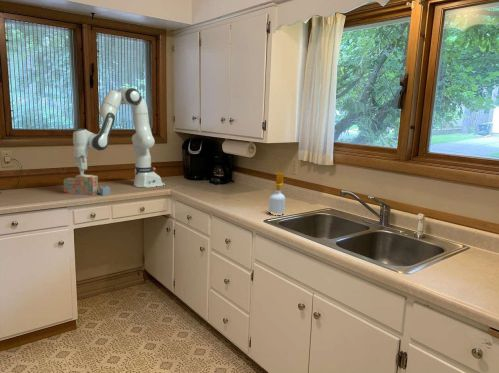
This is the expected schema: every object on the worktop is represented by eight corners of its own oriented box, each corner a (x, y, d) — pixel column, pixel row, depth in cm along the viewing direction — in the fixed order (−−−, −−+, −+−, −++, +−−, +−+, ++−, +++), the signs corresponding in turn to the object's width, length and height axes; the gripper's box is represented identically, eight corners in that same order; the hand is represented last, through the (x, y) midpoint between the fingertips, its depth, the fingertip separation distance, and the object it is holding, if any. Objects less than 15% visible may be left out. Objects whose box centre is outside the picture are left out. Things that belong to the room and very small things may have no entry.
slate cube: (106, 193, 260) (106, 185, 259) (110, 194, 257) (109, 186, 256) (99, 194, 256) (99, 186, 255) (102, 195, 253) (102, 187, 252)
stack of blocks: (63, 193, 256) (62, 174, 253) (69, 191, 262) (68, 173, 259) (93, 195, 252) (92, 177, 249) (98, 193, 258) (97, 175, 255)
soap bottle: (266, 214, 224) (269, 172, 219) (271, 211, 232) (273, 170, 227) (281, 216, 221) (284, 174, 216) (286, 213, 229) (288, 172, 224)
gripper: (89, 155, 246) (90, 177, 248) (83, 151, 262) (84, 172, 265) (78, 155, 242) (79, 177, 245) (73, 152, 259) (74, 172, 262)
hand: (81, 174), depth 255 cm, fingers closed
